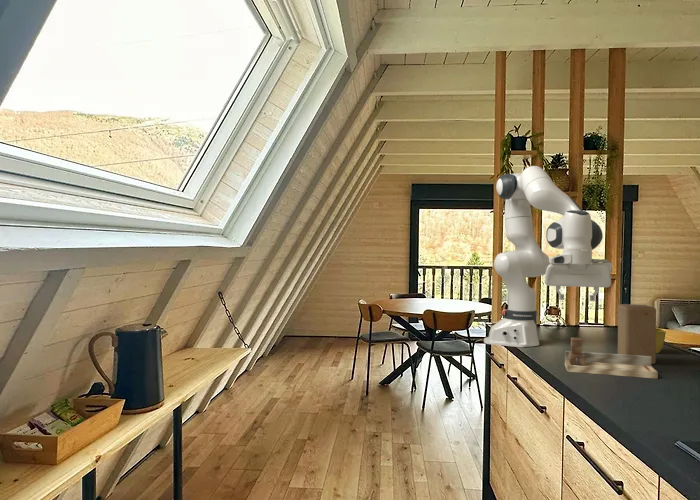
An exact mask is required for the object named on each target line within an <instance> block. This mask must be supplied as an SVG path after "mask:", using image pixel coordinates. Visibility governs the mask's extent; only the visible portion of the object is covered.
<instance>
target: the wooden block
mask: <svg viewBox="0 0 700 500" xmlns="http://www.w3.org/2000/svg"><path fill="white" fill-rule="evenodd" d="M656 328H657V309H656V307H653V306H651V305H647V304H631V303H629V304H628V303H620V304H618V306H617V354H624V355H639V356H651V365H654V364H656V361H657V360H656V358H657V357H656V355H657V353H656Z"/></svg>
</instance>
